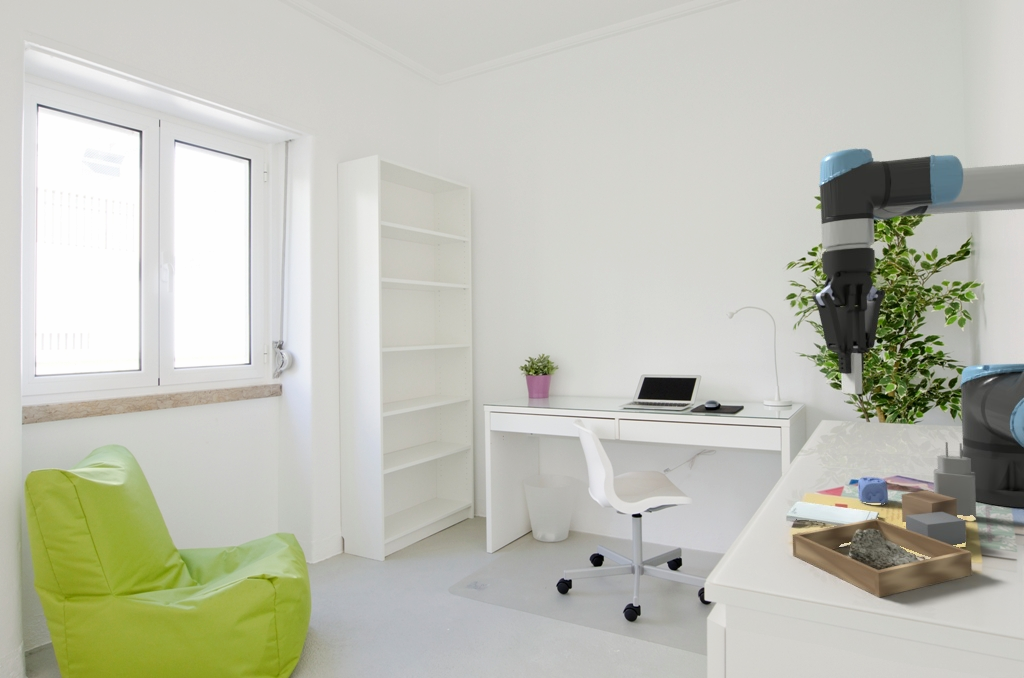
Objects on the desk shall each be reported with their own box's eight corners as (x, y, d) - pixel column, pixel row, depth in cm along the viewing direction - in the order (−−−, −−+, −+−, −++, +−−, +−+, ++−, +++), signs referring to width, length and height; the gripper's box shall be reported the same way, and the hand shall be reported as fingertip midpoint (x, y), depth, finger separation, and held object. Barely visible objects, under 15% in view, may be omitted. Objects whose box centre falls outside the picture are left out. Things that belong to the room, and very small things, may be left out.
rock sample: (932, 567, 74) (881, 504, 80) (876, 600, 77) (830, 537, 83) (954, 577, 80) (905, 519, 87) (901, 607, 83) (858, 548, 89)
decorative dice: (858, 498, 112) (857, 476, 112) (884, 499, 111) (883, 477, 110) (861, 505, 108) (860, 482, 108) (888, 506, 107) (887, 483, 107)
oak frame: (876, 538, 93) (875, 518, 93) (971, 575, 80) (971, 551, 80) (793, 555, 89) (792, 534, 89) (879, 597, 75) (878, 572, 75)
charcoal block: (943, 538, 92) (942, 511, 92) (966, 548, 88) (965, 520, 88) (906, 542, 92) (905, 515, 91) (928, 552, 88) (927, 524, 87)
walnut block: (926, 521, 99) (925, 490, 99) (957, 531, 95) (956, 498, 94) (902, 525, 98) (901, 494, 98) (932, 536, 93) (931, 503, 93)
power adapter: (935, 511, 103) (933, 439, 103) (976, 516, 100) (974, 442, 100) (934, 516, 101) (932, 443, 100) (976, 521, 98) (974, 446, 97)
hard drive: (785, 514, 103) (872, 526, 95) (797, 500, 109) (878, 510, 102) (786, 524, 103) (872, 536, 95) (797, 509, 109) (879, 520, 102)
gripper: (860, 250, 107) (863, 387, 108) (798, 252, 103) (802, 394, 104) (899, 245, 100) (902, 391, 101) (834, 246, 96) (838, 399, 97)
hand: (852, 392), depth 102 cm, fingers closed
